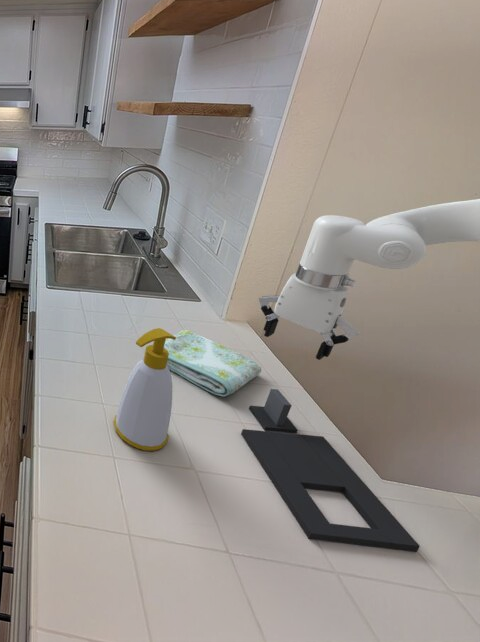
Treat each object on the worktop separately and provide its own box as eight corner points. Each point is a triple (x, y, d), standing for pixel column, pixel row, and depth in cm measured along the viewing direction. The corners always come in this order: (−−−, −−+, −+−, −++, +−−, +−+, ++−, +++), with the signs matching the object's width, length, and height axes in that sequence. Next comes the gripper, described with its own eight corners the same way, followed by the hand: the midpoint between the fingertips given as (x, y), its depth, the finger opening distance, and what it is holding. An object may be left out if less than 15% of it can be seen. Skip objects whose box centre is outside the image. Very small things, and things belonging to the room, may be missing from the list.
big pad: (320, 441, 83) (323, 436, 82) (416, 552, 63) (420, 546, 62) (240, 434, 85) (242, 429, 84) (308, 539, 65) (311, 533, 64)
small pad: (278, 411, 91) (287, 387, 88) (296, 433, 85) (307, 409, 82) (248, 408, 92) (256, 385, 89) (264, 430, 86) (273, 406, 83)
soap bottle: (101, 421, 88) (117, 324, 78) (138, 406, 92) (158, 312, 82) (139, 460, 79) (163, 356, 69) (179, 441, 83) (207, 340, 73)
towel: (182, 338, 118) (186, 324, 116) (260, 376, 102) (266, 361, 100) (146, 358, 109) (149, 343, 107) (225, 404, 93) (231, 387, 91)
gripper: (384, 288, 73) (350, 361, 80) (280, 258, 87) (258, 322, 94) (369, 298, 70) (335, 373, 76) (263, 265, 84) (242, 331, 90)
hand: (293, 345), depth 85 cm, fingers open, 9 cm apart
